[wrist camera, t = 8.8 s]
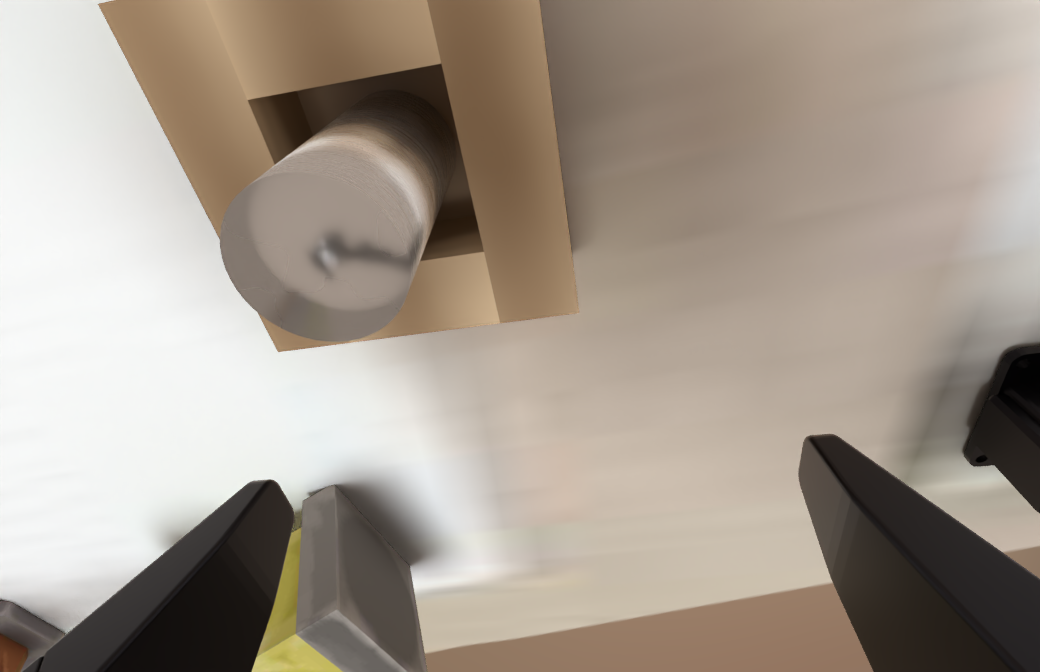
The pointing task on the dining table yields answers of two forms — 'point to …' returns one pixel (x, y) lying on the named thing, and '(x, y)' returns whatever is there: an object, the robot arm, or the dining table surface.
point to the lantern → (304, 603)
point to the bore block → (341, 84)
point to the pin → (342, 220)
